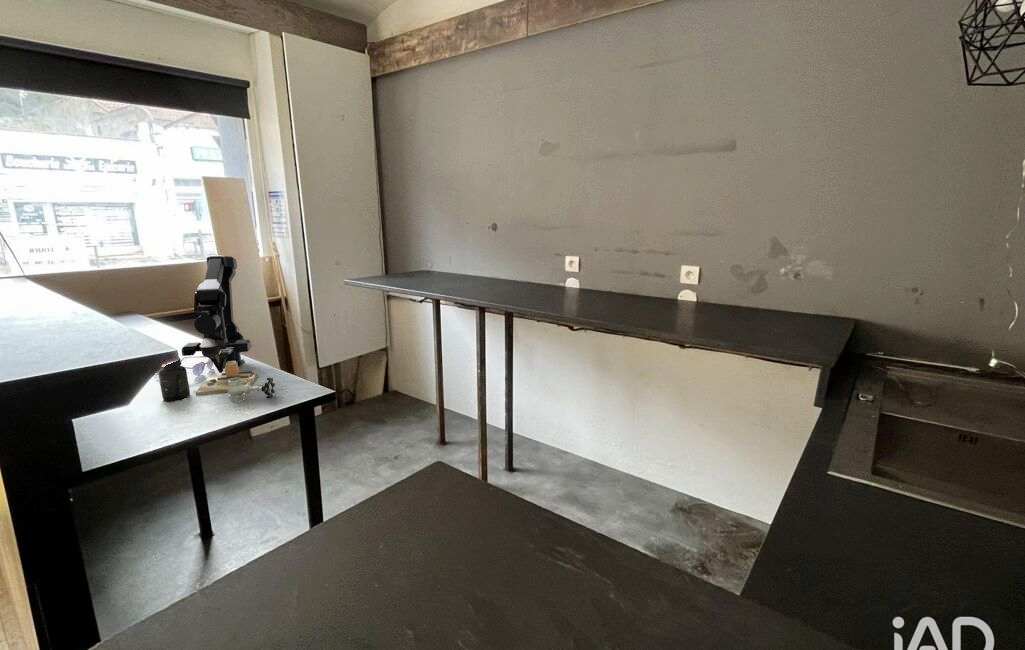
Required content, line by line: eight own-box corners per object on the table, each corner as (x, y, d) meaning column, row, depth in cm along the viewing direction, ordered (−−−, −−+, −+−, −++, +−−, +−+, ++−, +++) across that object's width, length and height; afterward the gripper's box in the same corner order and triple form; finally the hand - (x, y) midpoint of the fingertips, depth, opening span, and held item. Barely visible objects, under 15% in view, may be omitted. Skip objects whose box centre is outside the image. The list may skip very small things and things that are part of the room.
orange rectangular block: (228, 374, 160) (226, 361, 159) (238, 373, 161) (237, 360, 160) (226, 377, 157) (224, 363, 156) (236, 376, 158) (234, 363, 157)
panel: (211, 378, 160) (210, 373, 160) (257, 375, 164) (256, 370, 164) (195, 396, 146) (194, 390, 145) (247, 391, 150) (246, 386, 149)
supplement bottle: (157, 400, 142) (150, 362, 140) (178, 392, 149) (172, 355, 146) (174, 403, 141) (168, 364, 138) (196, 394, 147) (189, 357, 144)
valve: (225, 405, 140) (269, 402, 142) (222, 383, 138) (266, 381, 140) (234, 396, 146) (276, 394, 148) (231, 375, 145) (273, 373, 147)
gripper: (171, 334, 144) (179, 383, 148) (240, 330, 149) (246, 378, 153) (184, 325, 155) (192, 371, 158) (249, 322, 160) (254, 367, 163)
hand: (221, 372), depth 158 cm, fingers closed
